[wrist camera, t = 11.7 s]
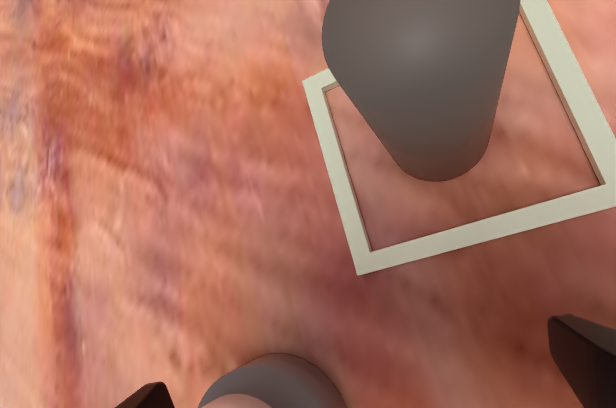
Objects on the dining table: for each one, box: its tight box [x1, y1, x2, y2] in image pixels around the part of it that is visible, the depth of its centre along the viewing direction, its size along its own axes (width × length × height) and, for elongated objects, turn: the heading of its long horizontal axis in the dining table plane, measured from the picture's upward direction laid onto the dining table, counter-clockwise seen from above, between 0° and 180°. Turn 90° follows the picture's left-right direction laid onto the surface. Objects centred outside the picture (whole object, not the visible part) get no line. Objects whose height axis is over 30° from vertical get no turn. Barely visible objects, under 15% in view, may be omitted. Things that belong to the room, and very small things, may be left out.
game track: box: [302, 0, 616, 276], centre depth 17 cm, size 24×12×1 cm, turn 107°
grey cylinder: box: [322, 0, 521, 181], centre depth 14 cm, size 5×5×10 cm
